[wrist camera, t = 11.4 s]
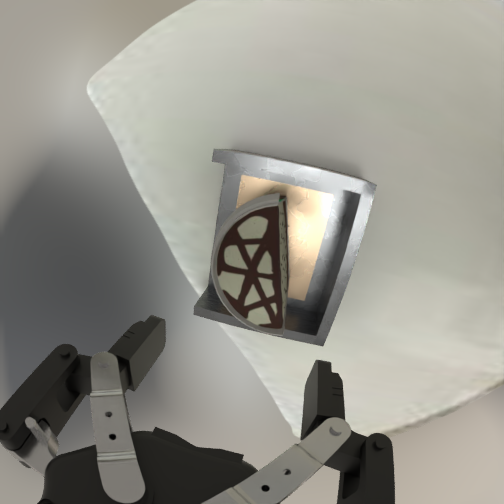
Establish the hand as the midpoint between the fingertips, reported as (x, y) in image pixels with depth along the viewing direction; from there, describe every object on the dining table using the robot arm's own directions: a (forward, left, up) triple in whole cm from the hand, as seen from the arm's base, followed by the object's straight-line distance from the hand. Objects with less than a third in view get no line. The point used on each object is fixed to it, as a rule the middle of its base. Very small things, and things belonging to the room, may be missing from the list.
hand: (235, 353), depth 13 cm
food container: (+2, 0, -19) cm, 19 cm away
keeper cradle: (-1, 0, -20) cm, 20 cm away
